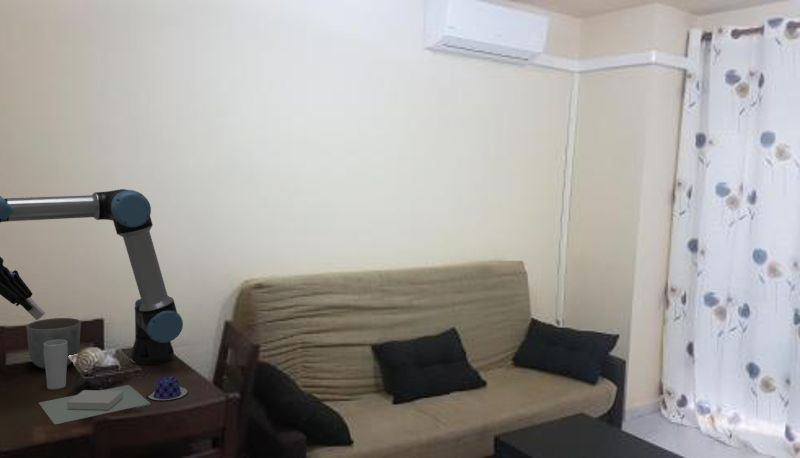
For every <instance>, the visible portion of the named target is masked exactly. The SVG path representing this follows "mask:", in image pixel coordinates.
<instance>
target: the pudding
mask: <svg viewBox="0 0 800 458" xmlns="http://www.w3.org/2000/svg"><path fill="white" fill-rule="evenodd" d="M187 393H188V390H187V389H186V388H185V387H182V386H180V384H179V380H178V379H177V378H176V377H174V376H165V377H164V376H163V377H161V378H159V379H157V381H156V386H155V389H153V390H152V392H150V394H148V395H147V397H148V398H149V399H151V400H155V401H170V400H175V399H179V398H183V397H184V396H185V395H187Z"/></svg>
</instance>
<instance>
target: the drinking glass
mask: <svg viewBox="0 0 800 458" xmlns="http://www.w3.org/2000/svg"><path fill="white" fill-rule="evenodd" d="M67 358H68V344H67V341H66V340H51V341H47V342H45V343H44V362H45V377H46V388H47V389H48V390H58V389H59V390H60V389H62V388H65V387H66V386H67V371H68V370H67V368H68V365H67Z"/></svg>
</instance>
